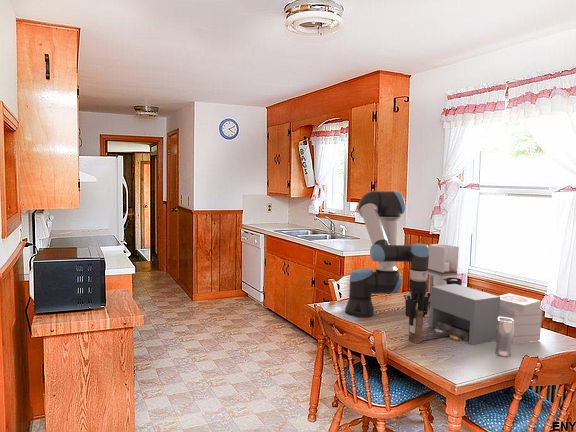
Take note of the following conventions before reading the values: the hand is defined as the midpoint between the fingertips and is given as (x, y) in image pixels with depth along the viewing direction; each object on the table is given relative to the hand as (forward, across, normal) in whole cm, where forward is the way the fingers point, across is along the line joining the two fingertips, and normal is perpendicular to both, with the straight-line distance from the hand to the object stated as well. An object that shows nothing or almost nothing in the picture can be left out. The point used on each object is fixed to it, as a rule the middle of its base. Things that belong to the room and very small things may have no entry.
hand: (415, 331), depth 202 cm
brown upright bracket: (+4, +11, 0) cm, 12 cm away
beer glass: (+5, +24, -26) cm, 36 cm away
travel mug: (+5, +45, +21) cm, 50 cm away
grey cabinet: (+5, +29, 0) cm, 29 cm away
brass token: (+5, +20, -5) cm, 21 cm away
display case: (+5, +53, +36) cm, 65 cm away
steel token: (+5, +20, +4) cm, 21 cm away
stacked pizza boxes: (+5, +49, -8) cm, 50 cm away
